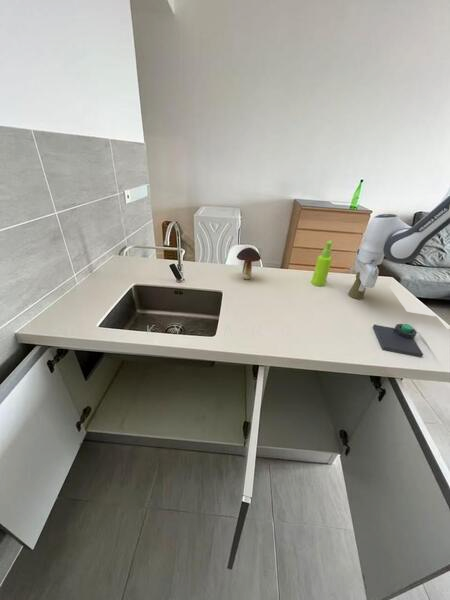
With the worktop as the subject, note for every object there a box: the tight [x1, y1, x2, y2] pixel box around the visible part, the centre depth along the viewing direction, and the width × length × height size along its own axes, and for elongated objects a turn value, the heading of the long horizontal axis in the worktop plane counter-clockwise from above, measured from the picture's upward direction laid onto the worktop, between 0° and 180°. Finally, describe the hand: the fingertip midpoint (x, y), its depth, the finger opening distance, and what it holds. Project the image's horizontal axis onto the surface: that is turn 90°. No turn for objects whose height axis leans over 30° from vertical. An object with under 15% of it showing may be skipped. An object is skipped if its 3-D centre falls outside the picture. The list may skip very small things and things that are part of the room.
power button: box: [401, 323, 414, 333], centre depth 81 cm, size 3×3×2 cm
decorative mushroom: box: [236, 247, 262, 280], centre depth 110 cm, size 11×11×15 cm
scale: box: [372, 323, 424, 358], centre depth 79 cm, size 12×13×3 cm
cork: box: [348, 272, 367, 300], centre depth 102 cm, size 6×6×11 cm
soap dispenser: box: [311, 239, 334, 287], centre depth 109 cm, size 6×7×20 cm
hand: (358, 287), depth 103 cm, fingers closed on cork, 4 cm apart
